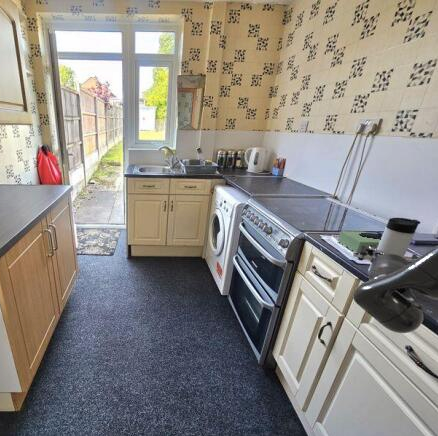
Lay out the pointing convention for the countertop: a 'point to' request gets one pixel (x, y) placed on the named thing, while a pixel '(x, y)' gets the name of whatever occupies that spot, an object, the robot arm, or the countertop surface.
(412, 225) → the travel mug
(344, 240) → the riser block
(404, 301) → the robot arm
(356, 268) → the countertop surface
